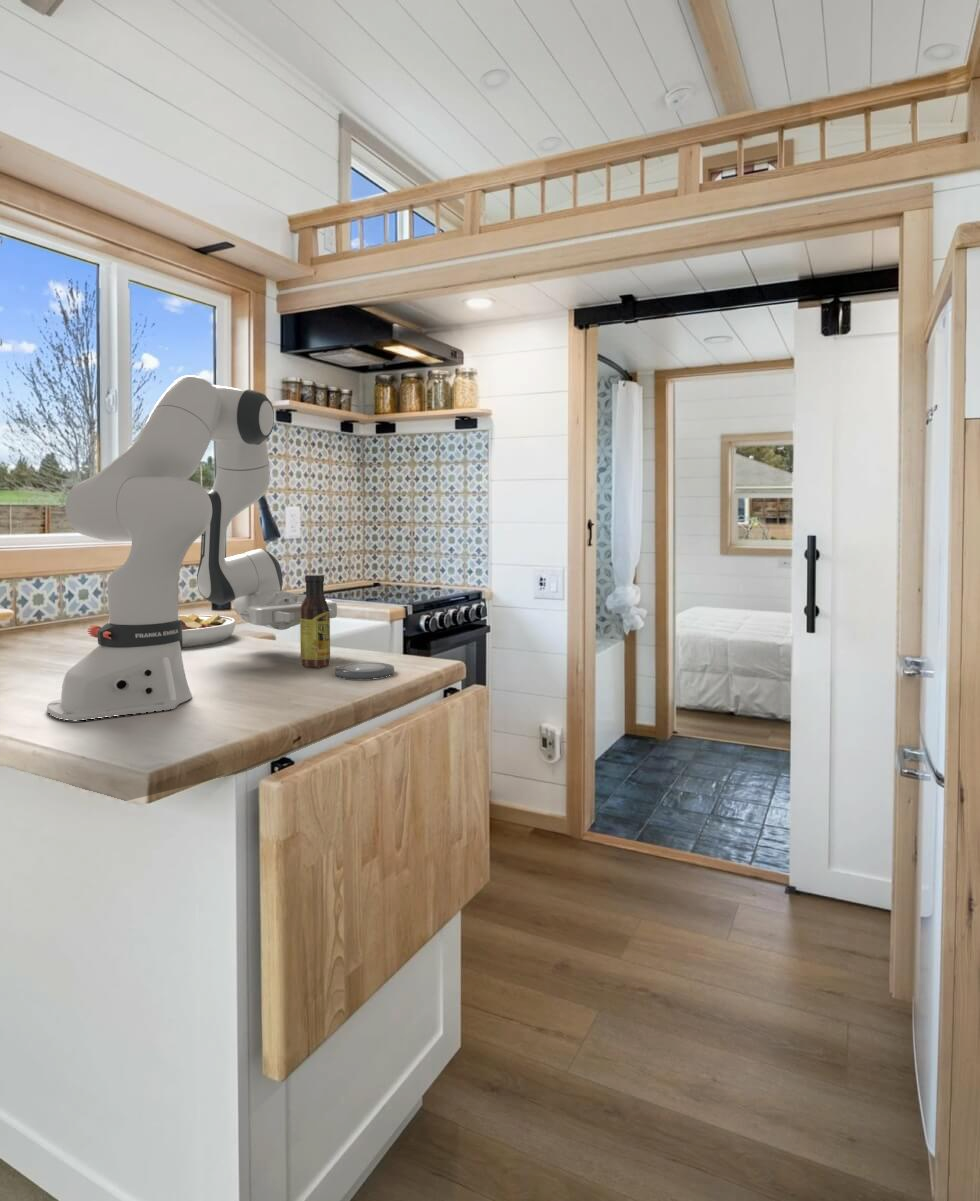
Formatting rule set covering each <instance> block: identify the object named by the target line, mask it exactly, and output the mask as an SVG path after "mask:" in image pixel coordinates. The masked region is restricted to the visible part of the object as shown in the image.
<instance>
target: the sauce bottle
mask: <svg viewBox="0 0 980 1201" xmlns="http://www.w3.org/2000/svg"><path fill="white" fill-rule="evenodd" d="M304 582H305V594H306V597H305V599H304V601H303V603H302V605H301V618H300V624H299V625H300V626H299V628H300V629H299V630H300V639H299V640H300V659H301V666H302V667H303V668H306V667H309V669H310V668H312V669H316V668H324V667H328V666H329V665H330V659H331V618H330V611H329V608H328V605H327V602H326V598H325V590H324V582H325V575H324V574H305V575H304Z"/></svg>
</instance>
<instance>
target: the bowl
mask: <svg viewBox="0 0 980 1201" xmlns="http://www.w3.org/2000/svg"><path fill="white" fill-rule="evenodd" d="M178 616H179V619H180V620H181V624H182V632H183V643H182V648H190V646H192V647H199V646H198V645H200V646H205V645H204V644H207V645H210V643H212V644H216V643H220V642H223V641H225V640H227V639H228V638H229V637H230V636H231V635H232V634H233V633H234V631H235V628H236V620H235V619H234V618H233V617H229V616H222V615H220V614H212V615H210V614H208V615H207V614H194V613H190V614H186V615H185V614H180V615H179V614H178ZM219 641H220V642H219ZM215 642H216V643H215Z"/></svg>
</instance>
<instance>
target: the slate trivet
mask: <svg viewBox="0 0 980 1201" xmlns="http://www.w3.org/2000/svg"><path fill="white" fill-rule="evenodd" d="M393 673H394V674H395V667H394V665H392V664H388V663H384V662H369V661H368V662H366V661H365V662H353V663H346V664H342V665H339V666H336V667H335V669H334V674H335V677H337V678H339V677H340V678H339V679H342V678H345V679H344V680H349V679H372V680H374V679H373V678H381V677H386V676H389V675H392V674H393ZM394 674H393V675H394ZM393 675H392V676H393ZM389 677H390V676H389ZM386 678H387V677H386ZM381 679H382V678H381Z"/></svg>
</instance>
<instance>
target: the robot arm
mask: <svg viewBox="0 0 980 1201" xmlns="http://www.w3.org/2000/svg"><path fill="white" fill-rule="evenodd" d="M274 425H275V412H274V406H273V404H272V402H271V400H270V399H269V398H268V396H267V395H266V394H264V393H262V392H260V391H258V390H257V391H256V390H253V389H246V390H245V389H241V388H236V387H230V386H223V385H219V384H213V383H211V382H210V381H208V380H207V379H205V378H202V377H200V376H196V375H184V376H181V377H179V378H177V379H176V380H174V382H173V383H172V384H171V385H170V386H169V387H168V388H167V389H166V391H164V393H162V395H161V397H160V398H159V399H158V401H157V402H156V404H155V405H154V407H153V409H152V410H151V412H150V414H149V416H148V417H147V420H146V421H145V423H144V424H143V427H142V428H141V429H140V431H139V433H138V435H137V436H136V438H135V439H134V440H133V442H132V443H131V444H130V445H129V446H128V447H127V448H125V451H123V452H122V453H121V454H120V455H119V456H117V457H116V458H115V459H114V460H113V461H112V462H111V463H109V464H108V465H107V466H106V467H104V468H103V469H102V470H100V471H99V472H97V473H96V474H95V475H93V476H91V477H89V478H87V479H85V480H82V481H80V482H78V483H75V484H74V485H73V486H72V487H71V488H70V489H69V491H68V494H67V495H66V498H65V499H66V500H65V514H66V518H67V520H68V523H69V524H70V526H71V527H72V528H73V529H74V530H75V531H76V532H77V533H78V534H81V535H82V536H86V537H89V538H90V537H91V538H92V539H93V538H94V539H97V540H98V539H99V540H102V541H109V542H110V541H112V542H113V541H115V542H117V541H118V542H123V541H124V542H131V545H130V546H131V548H130V551H129V555H128V557H127V559H126V561H125V562H124V563H123V564H122V565H120V566H118V567H116V568H115V569H114V570H113V571H112V572H111V573H110V574H109V576H108V578H107V582H106V585H107V602H108V604H107V605H108V622H107V623H106V624H104V625H103V626H99V625H97V624H92V625H90V626H89V628H87V633H88V635H89V636H90V637H94V638H97V644H98V646H96V647H95V648H94V649H93V650H92V651H90V653H88V654H87V655H86V656H84V657H82V659H81V660H80V661H78V662H77V663H76V664H75V665H73V666H72V667H71V668H69V669H68V670H67V671H66V673H65V675H64V678H63V681H62V686H61V696H60V697H61V698H60V699H57V700H52V701H50V702H48V703H47V705H46V708H47V709H46V712H47V711H48V712H47V714H48V713H50V714H51V715H53V716H55V717H58V718H62V719H68V720H82V719H91V718H98V717H105V716H114V715H125V714H133V715H137V714H136V713H141V714H147V713H146V712H148V713H154V711H156V712H162V710H164V711H168V710H169V711H170V709H171V710H175V709H176V708H177V707H178V705H180V704H182V703H185V702H186V701H189V700H190V699H192V696H193V694H192V693H191V692H192V691H191V689H190V686H189V683H188V679H187V677H186V672H185V668H184V661H183V655H182V653H183V652H182V650H183V647H182V643H183V632H182V624H181V620H180V619H179V616H178V615H179V579H180V572H181V568H182V563H183V561H184V559H185V557H186V554H187V552H188V550H190V547H191V546H192V545H193V543H194V542H195V541H197V539H198V538H200V537H201V539H200V540H201V541H200V559H199V564H198V569H197V575H196V584H197V589H198V592H199V593H200V595H201V596H202V598H203V599H205V600H206V601H208V602H209V603H211V604H215V605H217V606H218V605H219V606H223V605H225V604H227V603H230V602H232V601H233V603H232V604H233V609H234V612H235V613H236V614H237V616H238V617H240V618H241V619H242V620H243V621H245V622H247V623H249V624H252V625H254V626H261V627H265V628H268V629H269V628H270V629H272V630H273V629H274V630H278V631H284V630H288V629H291V628H292V627H296V626H298V625H300V618H301V605H302V603H303V601H304V599H305V597H306V593H294V592H291V591H284V590H283V591H282V588H283V580H284V578H283V577H284V576H283V571H282V567H281V565H280V562H279V561H278V560H277V558H275V556H274V555H273V554H272V553H271V552H269V551H268V550H266V549H263V548H261V547H260V548H256V549H252V550H248V551H244V552H241V553H239V554H235V555H231V556H228V557H227V556H226V544H227V531H228V528H229V525H230V523H231V522H232V521H233V519H235V518H236V517H237V516H238V515H239V514H240V513H241V512H243V511H244V510H246V509H247V508H249V507H251V506H252V505H254V504H255V503H257V502H258V501H259V500H260V499H261V498H262V497H263V496H264V495H265V493H266V492H267V490H268V488H269V485H270V480H271V473H270V471H271V469H270V461H269V452H268V446H267V441H266V440H267V439H268V438H269V437H270V435H271V434H272V432H273V429H274ZM211 441H214V442H215V443H214V444H215V445H214V447H215V448H214V449H215V450H214V451H215V464H216V466H215V467H216V471H215V472H216V473H215V479H214V482H213V485H212V487H211V488H210V490H209V492H207V490H206V489H205V487H204V486H202V484H201V483H199V482H197V481H194V480H189V479H190V478H191V477H192V476H193V475H194V474H195V473H196V472H197V470H198V468H199V465H200V464H201V462H202V459H203V458H204V456H205V453H206V451H207V449H208V447H209V445H210V443H211ZM325 599H326V598H325ZM326 602H327V605H328V608H329V611H330V619H336V618H337V616H338V605H337V602H336V601H335V600H330V599H328V598H327V599H326ZM51 715H50V716H51ZM125 716H126V715H125Z"/></svg>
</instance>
